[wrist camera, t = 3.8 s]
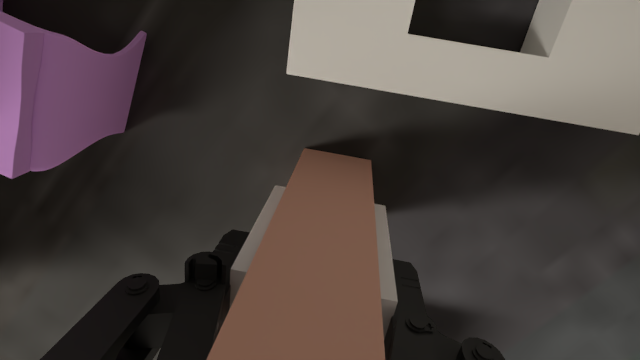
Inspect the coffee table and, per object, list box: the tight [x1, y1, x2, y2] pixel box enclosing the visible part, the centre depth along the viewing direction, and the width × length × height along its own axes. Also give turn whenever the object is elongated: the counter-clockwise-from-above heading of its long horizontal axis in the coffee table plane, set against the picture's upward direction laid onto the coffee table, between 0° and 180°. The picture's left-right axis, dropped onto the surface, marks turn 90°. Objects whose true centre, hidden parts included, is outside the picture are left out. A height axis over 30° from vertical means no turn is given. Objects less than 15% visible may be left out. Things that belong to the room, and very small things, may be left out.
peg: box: [206, 148, 385, 360], centre depth 14 cm, size 4×4×16 cm
